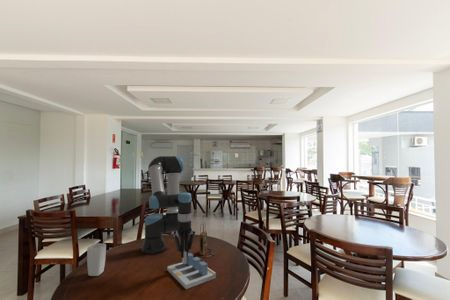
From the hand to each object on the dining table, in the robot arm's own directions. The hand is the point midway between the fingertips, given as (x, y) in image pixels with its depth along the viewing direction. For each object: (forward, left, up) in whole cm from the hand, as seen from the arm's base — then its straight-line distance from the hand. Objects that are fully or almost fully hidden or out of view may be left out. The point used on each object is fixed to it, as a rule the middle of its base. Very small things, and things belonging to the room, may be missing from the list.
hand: (184, 262), depth 125 cm
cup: (-23, -40, -4) cm, 47 cm away
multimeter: (-10, +23, -4) cm, 25 cm away
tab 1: (0, +3, -1) cm, 4 cm away
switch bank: (+7, +1, -3) cm, 8 cm away
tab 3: (+14, +4, -1) cm, 15 cm away
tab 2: (+7, +4, -1) cm, 8 cm away
